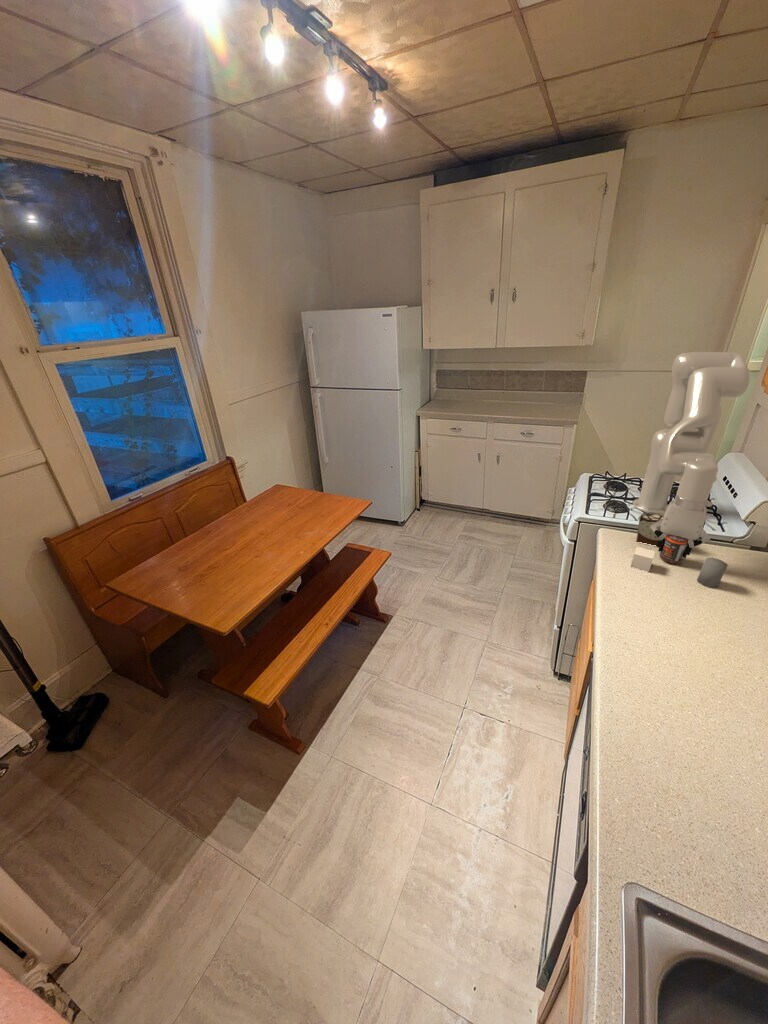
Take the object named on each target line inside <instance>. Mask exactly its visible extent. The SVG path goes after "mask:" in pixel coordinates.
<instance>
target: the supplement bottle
mask: <svg viewBox="0 0 768 1024" xmlns="http://www.w3.org/2000/svg"><path fill="white" fill-rule="evenodd" d="M688 543H689V542H688V539H686V538H683V537H680V536H674V535H669V534H668V535H667V536H666V537H665V540H664V543H663V546H662V549H661V551H660V552H659V559H661V560H662V561H664V562H666V563H670V564H674V565H675V564H679V563H681V562H682V560H683V558H684V557H683V555H684V552H685V549H686V547H687V544H688Z"/></svg>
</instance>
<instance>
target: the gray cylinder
mask: <svg viewBox="0 0 768 1024" xmlns="http://www.w3.org/2000/svg"><path fill="white" fill-rule="evenodd" d="M727 567H728V564H727V563H726V561H723V560H722V559H719V558H715V557H707V558H706V559H705V560H704V563H703V565H702V567H701V570H700V572H699V574H698V577H697V579H696V580H697V583H699V584H700V585H702V586H704V587H706V588H712V589H713V588H714V589H715V588H718V587H719V585H720V582H721V581H722V579H723V576H724V574H725V572H726V571H727V570H726V569H727Z"/></svg>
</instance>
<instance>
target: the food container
mask: <svg viewBox="0 0 768 1024" xmlns="http://www.w3.org/2000/svg"><path fill="white" fill-rule="evenodd" d="M664 514H665V513H664ZM664 514H662V513H656V512H644V513H642V514H640V515H639V516H638V518H637V520H636V521H637V522H638V528H637V534H636V541H635V543H636V542H642V543H647V544H651V545H656V546H657V544H658V541H659V539H658V537H657V536H656V534H655V533H654V531H653V530H652V529H651V528H650V525H651V524H652V523H655V522H657V521H659V520H662V519H663V517H664ZM660 527H661V525H660V526H658V527H657V528H658V529H659V530H660Z"/></svg>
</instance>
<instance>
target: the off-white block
mask: <svg viewBox="0 0 768 1024" xmlns="http://www.w3.org/2000/svg"><path fill="white" fill-rule="evenodd" d="M655 553H656V551H654V550H652V549H647V548H643V547H642V546H641V547H640V546H636V547H635V551H634V553H633V556H632V561H631V562H630V566H631V567H630V568H633V567H634V568H633V569H636V568H638V569H637V570H639V569H641V570H640V571H643V570H644V571H643V572H646V571H647V572H648V573H649V572H650V569H651V566H652V563H653V559H654V557H655ZM647 572H646V573H647Z"/></svg>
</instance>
